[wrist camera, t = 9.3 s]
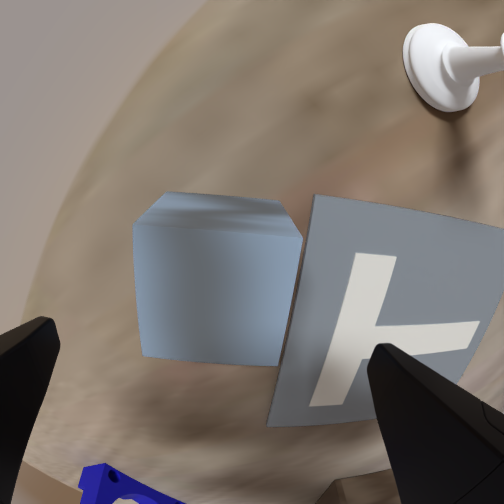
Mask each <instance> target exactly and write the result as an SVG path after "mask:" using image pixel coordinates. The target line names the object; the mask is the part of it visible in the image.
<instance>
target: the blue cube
mask: <svg viewBox="0 0 504 504" xmlns="http://www.w3.org/2000/svg"><path fill="white" fill-rule="evenodd" d="M302 241H303V237H302V236H301V234H300V232H299V231H298V229H297V228H296V226H295V225H294V223H293V221H292V220H291V218H290V217H289V215H288V214H287V212H286V210H285V209H284V207H283V206H282V204H281V203H280V201H277V200H267V199H257V198H246V197H235V196H223V195H211V194H197V193H182V192H166V193H164V194H163V195H162V196H161V197H160V198H159V199H158V200H157V201H156V202H155V203H154V204H153V205H152V206H151V207H150V208H149V209H148V210H147V211H146V212H145V213H144V214H143V215H142V216H141V217H140V218H139V219H138V220H137V221H136V222H135V223H134V224H133V255H134V274H135V289H136V301H137V312H138V322H139V331H140V340H141V348H142V355H143V356H147V357H154V358H163V359H171V360H181V361H191V362H203V363H216V364H232V365H254V366H278V363H279V358H280V354H281V349H282V344H283V340H284V335H285V330H286V325H287V320H288V316H289V311H290V306H291V300H292V295H293V290H294V285H295V280H296V274H297V269H298V263H299V258H300V252H301V247H302Z"/></svg>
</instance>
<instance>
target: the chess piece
mask: <svg viewBox="0 0 504 504" xmlns="http://www.w3.org/2000/svg"><path fill="white" fill-rule="evenodd" d="M403 60H404V65H405V69H406V72H407V75H408V77H409V79H410V81H411V83H412V85H413V87H414V88H415V90H416V91H417V93H418V94H419V95H420V96H421V97H422V98H423V99H424V100H425V101H426V102H427V103H428V104H429V105H431V106H432V107H434V108H436V109H438V110H441V111H444V112H455V111H459V110H463V109H466V108H467V107H469V106H470V105H471V104H472V103H473V102H474V100H475V98H476V96H477V94H478V90H479V77H480V76H483V75H487V74H490V73H494V72H498V71H504V33H503V34H502V36H501V46H494V47H468V45H467V44H466V43H465V41H464V40H463V39H462V38H461V37H460V36H459V35H458V34H457V33H456V32H454V31H453V30H451V29H450V28H448V27H446V26H443V25H440V24H435V23H429V24H423V25H419V26H416V27H414V28H413V29H412V30H411V31H410V32H409V33H408V34H407V36H406V38H405V41H404V45H403Z"/></svg>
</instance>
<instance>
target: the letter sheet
mask: <svg viewBox="0 0 504 504" xmlns="http://www.w3.org/2000/svg"><path fill="white" fill-rule="evenodd" d="M503 291H504V229H502V228H498V227H494V226H489V225H485V224H481V223H477V222H472V221H468V220H463V219H458V218H454V217H449V216H444V215H439V214H434V213H429V212H424V211H419V210H413V209H408V208H402V207H397V206H391V205H385V204H379V203H373V202H367V201H360V200H354V199H347V198H340V197H333V196H325V195H318V194H314V196H313V202H312V208H311V214H310V220H309V226H308V232H307V238H306V243H305V249H304V254H303V260H302V265H301V270H300V276H299V281H298V286H297V291H296V296H295V301H294V306H293V311H292V316H291V321H290V325H289V330H288V335H287V339H286V344H285V348H284V353H283V357H282V361H281V366H280V370H279V374H278V379H277V383H276V387H275V391H274V395H273V399H272V403H271V407H270V411H269V415H268V419H267V423H266V426H267V427H294V426H313V425H326V424H337V423H347V422H355V421H363V420H370V419H377V417H376V413H375V409H374V404H373V399H372V394H371V389H370V385H369V380H368V376H367V365H368V362H369V360H370V358H371V355H372V353H373V350H374V348H375V346H376V345H377V344H379V343H391V344H393V345H395V346H396V347H398V348H399V349H401V350H403V351H404V352H406V353H407V354H409V355H410V356H412V357H414V358H415V359H417V360H418V361H420V362H421V363H423V364H425V365H426V366H428V367H429V368H431V369H432V370H434V371H436V372H437V373H439V374H440V375H442V376H444V377H445V378H447V379H448V380H450V381H451V382H453V383H455V384H457V383H458V381H459V379H460V378H461V376H462V374H463V373H464V371H465V369H466V368H467V366H468V364H469V362H470V361H471V359H472V357H473V355H474V353H475V351H476V349H477V348H478V346H479V344H480V342H481V340H482V338H483V336H484V334H485V332H486V330H487V328H488V326H489V323H490V321H491V319H492V317H493V315H494V313H495V310H496V308H497V306H498V303H499V301H500V299H501V296H502V294H503Z"/></svg>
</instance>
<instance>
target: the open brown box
mask: <svg viewBox="0 0 504 504" xmlns="http://www.w3.org/2000/svg"><path fill="white" fill-rule="evenodd" d="M315 504H401V501H400V497H399V493H398V490H397V486H396V482H395V478H394V475H393V471H392V469H388V470H384V471H380V472H376V473H371V474H366V475H361V476H356V477H350V478H345V479H338V480H334V482H333V483H332V484H331V485H330V487H329V488H328V489H327V490H326V492H325V493H324V494H323V495H322V496H321V498H320V499H319V500H318V501H317V502H316V503H315Z"/></svg>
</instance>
